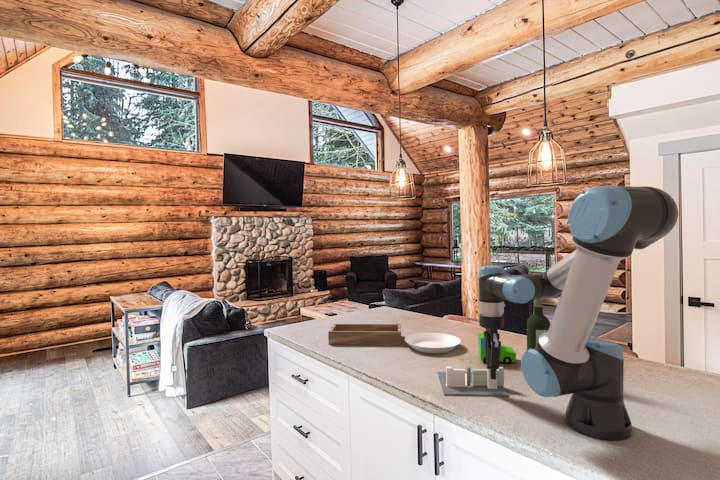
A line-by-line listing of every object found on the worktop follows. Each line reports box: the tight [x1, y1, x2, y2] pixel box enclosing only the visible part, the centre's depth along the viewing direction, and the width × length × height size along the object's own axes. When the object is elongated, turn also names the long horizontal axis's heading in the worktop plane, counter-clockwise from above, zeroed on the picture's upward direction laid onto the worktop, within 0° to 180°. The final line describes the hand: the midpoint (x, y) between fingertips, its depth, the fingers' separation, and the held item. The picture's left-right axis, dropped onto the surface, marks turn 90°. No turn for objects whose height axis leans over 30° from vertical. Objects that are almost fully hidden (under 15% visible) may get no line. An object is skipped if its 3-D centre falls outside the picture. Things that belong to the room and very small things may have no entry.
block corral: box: [327, 323, 402, 346], centre depth 194 cm, size 16×34×6 cm, turn 85°
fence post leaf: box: [445, 366, 472, 386], centre depth 134 cm, size 2×8×7 cm, turn 85°
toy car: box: [478, 332, 517, 365], centre depth 160 cm, size 10×13×10 cm
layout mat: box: [437, 371, 510, 397], centre depth 136 cm, size 20×20×1 cm
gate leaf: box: [471, 366, 505, 387], centre depth 133 cm, size 10×2×6 cm, turn 85°
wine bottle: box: [526, 299, 551, 351], centre depth 143 cm, size 8×8×30 cm
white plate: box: [404, 332, 462, 354], centre depth 180 cm, size 25×25×4 cm
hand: (492, 387), depth 128 cm, fingers closed
